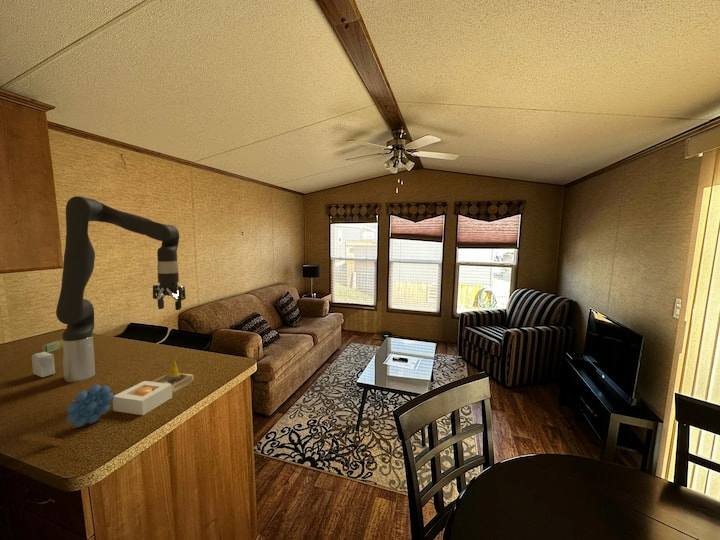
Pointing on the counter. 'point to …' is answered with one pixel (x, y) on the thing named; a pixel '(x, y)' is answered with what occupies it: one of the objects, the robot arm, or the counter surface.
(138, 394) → the button
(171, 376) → the drill bit
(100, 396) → the grapes
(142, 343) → the counter surface
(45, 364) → the medicine box
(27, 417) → the counter surface
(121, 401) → the frame
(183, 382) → the tray
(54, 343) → the medication box
